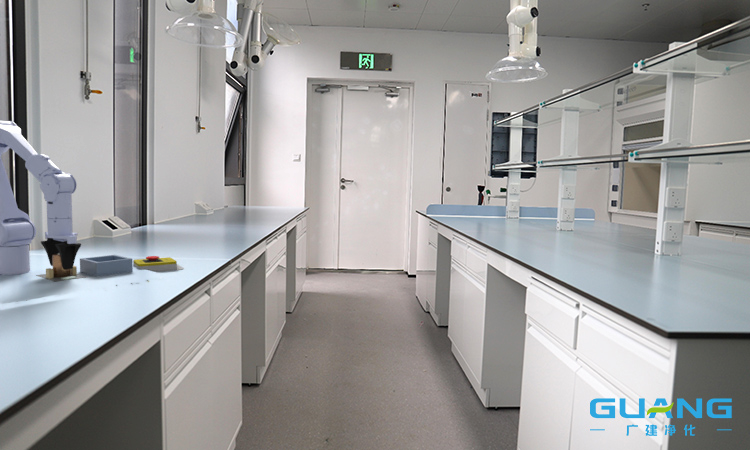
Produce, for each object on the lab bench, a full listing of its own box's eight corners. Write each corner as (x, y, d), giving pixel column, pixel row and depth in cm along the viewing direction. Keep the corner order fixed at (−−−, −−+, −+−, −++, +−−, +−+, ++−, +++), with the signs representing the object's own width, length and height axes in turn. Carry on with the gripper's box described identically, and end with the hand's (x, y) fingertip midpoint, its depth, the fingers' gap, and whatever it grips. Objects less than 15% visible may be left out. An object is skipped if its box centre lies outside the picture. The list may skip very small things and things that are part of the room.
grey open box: (80, 275, 137) (79, 258, 136) (115, 270, 145) (114, 254, 144) (97, 280, 131) (96, 263, 131) (132, 275, 139) (132, 258, 139)
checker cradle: (35, 279, 130) (35, 266, 130) (67, 275, 137) (67, 262, 136) (55, 286, 123) (54, 272, 123) (87, 281, 130) (87, 268, 130)
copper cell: (50, 276, 129) (49, 253, 129) (66, 274, 133) (65, 251, 132) (56, 278, 127) (56, 254, 127) (72, 276, 130) (72, 253, 130)
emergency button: (127, 256, 149) (177, 253, 158) (127, 269, 149) (177, 266, 158) (132, 260, 141) (184, 257, 150) (132, 275, 142) (184, 270, 151)
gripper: (88, 219, 128) (89, 268, 129) (64, 215, 136) (65, 262, 137) (59, 220, 122) (61, 272, 123) (35, 216, 130) (37, 265, 131)
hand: (61, 267), depth 130 cm, fingers open, 7 cm apart
